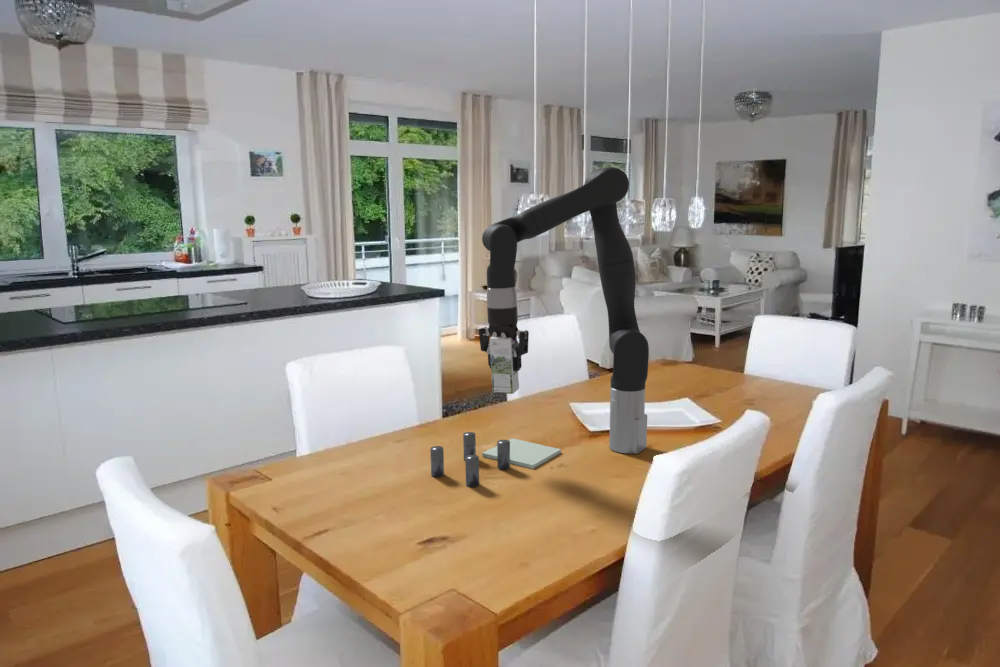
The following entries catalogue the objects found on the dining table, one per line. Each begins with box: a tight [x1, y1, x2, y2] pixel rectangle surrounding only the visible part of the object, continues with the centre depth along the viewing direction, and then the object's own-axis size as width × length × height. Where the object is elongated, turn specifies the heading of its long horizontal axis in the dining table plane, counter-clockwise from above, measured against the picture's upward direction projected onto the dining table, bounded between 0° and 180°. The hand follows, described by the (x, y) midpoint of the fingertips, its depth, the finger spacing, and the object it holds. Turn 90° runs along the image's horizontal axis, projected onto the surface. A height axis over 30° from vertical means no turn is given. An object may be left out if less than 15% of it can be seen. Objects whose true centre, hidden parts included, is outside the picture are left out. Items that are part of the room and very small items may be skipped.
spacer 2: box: [462, 431, 477, 461], centre depth 184 cm, size 3×3×7 cm
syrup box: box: [489, 336, 520, 395], centre depth 179 cm, size 6×6×14 cm
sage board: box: [481, 438, 562, 470], centre depth 188 cm, size 16×14×1 cm
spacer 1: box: [429, 445, 445, 478], centre depth 174 cm, size 3×3×7 cm
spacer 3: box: [464, 454, 480, 488], centre depth 168 cm, size 3×3×7 cm
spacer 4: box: [496, 439, 511, 471], centre depth 178 cm, size 3×3×7 cm
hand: (504, 369), depth 179 cm, fingers closed on syrup box, 6 cm apart
